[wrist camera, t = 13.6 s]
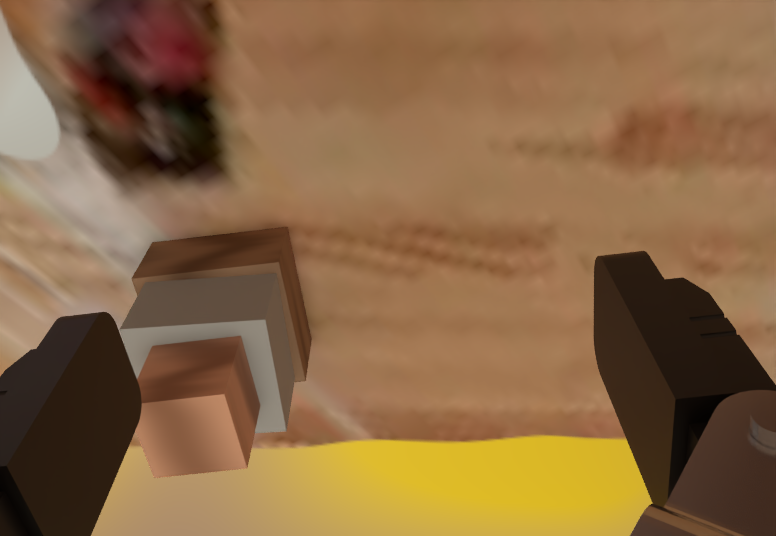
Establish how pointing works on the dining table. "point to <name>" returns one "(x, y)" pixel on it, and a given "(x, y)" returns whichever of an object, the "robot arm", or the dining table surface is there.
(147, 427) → the terracotta cube
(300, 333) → the tower bottom
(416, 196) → the dining table surface
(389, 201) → the dining table surface
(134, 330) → the tower top
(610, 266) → the robot arm
